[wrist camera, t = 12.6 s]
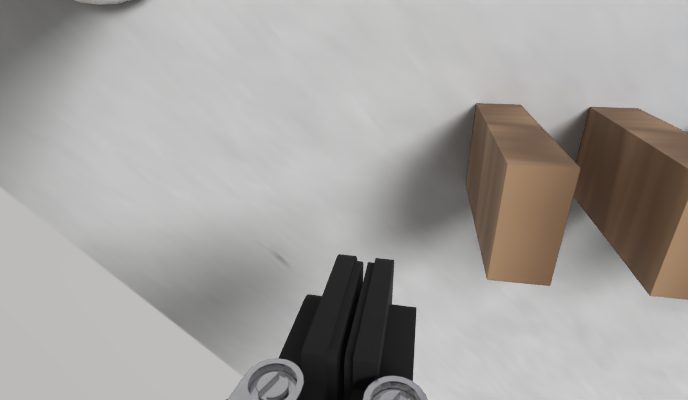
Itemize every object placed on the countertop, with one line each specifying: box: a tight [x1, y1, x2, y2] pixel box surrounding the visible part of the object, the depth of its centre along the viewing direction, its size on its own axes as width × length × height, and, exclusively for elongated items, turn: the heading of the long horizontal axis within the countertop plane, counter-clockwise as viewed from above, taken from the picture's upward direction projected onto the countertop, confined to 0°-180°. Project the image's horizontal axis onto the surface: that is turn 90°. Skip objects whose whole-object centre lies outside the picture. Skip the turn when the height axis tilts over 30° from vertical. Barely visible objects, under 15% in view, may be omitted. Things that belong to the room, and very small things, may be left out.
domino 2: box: [573, 107, 688, 299], centre depth 19 cm, size 2×5×10 cm, turn 0°
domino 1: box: [466, 103, 580, 286], centre depth 20 cm, size 2×5×10 cm, turn 0°
